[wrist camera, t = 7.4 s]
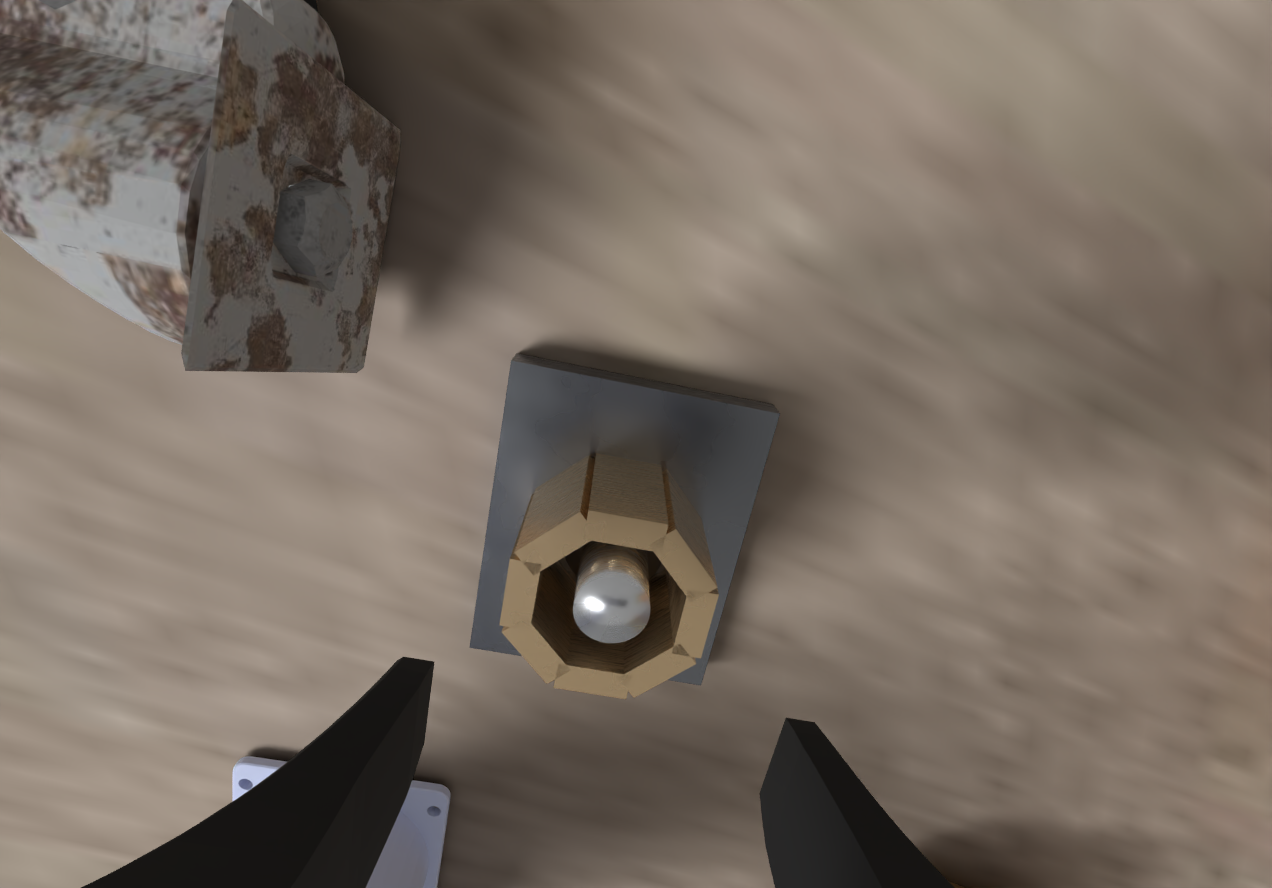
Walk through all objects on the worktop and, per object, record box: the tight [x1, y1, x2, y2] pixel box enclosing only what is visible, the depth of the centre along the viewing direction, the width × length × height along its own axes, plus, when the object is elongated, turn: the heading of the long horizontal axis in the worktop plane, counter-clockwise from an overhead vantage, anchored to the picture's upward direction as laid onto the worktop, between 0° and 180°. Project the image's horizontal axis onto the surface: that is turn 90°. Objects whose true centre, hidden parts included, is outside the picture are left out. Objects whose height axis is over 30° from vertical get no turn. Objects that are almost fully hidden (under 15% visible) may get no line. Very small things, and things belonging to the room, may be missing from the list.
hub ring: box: [500, 453, 719, 699], centre depth 19 cm, size 5×5×4 cm
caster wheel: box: [0, 0, 401, 373], centre depth 15 cm, size 7×11×10 cm
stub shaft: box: [470, 354, 780, 685], centre depth 19 cm, size 10×8×5 cm
